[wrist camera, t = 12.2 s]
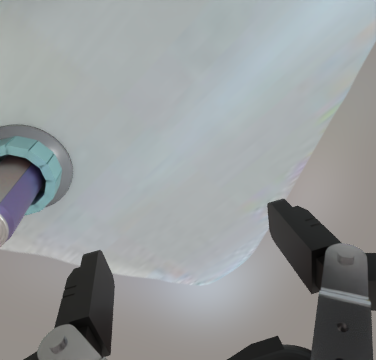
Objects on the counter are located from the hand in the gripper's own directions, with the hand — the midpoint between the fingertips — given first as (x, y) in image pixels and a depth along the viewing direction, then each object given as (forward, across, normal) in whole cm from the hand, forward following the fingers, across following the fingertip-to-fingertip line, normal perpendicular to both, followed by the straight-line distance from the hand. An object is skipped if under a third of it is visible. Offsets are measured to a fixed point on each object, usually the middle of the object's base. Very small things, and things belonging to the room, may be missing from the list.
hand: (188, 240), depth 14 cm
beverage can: (+31, +20, +5) cm, 37 cm away
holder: (+32, +20, +5) cm, 37 cm away
